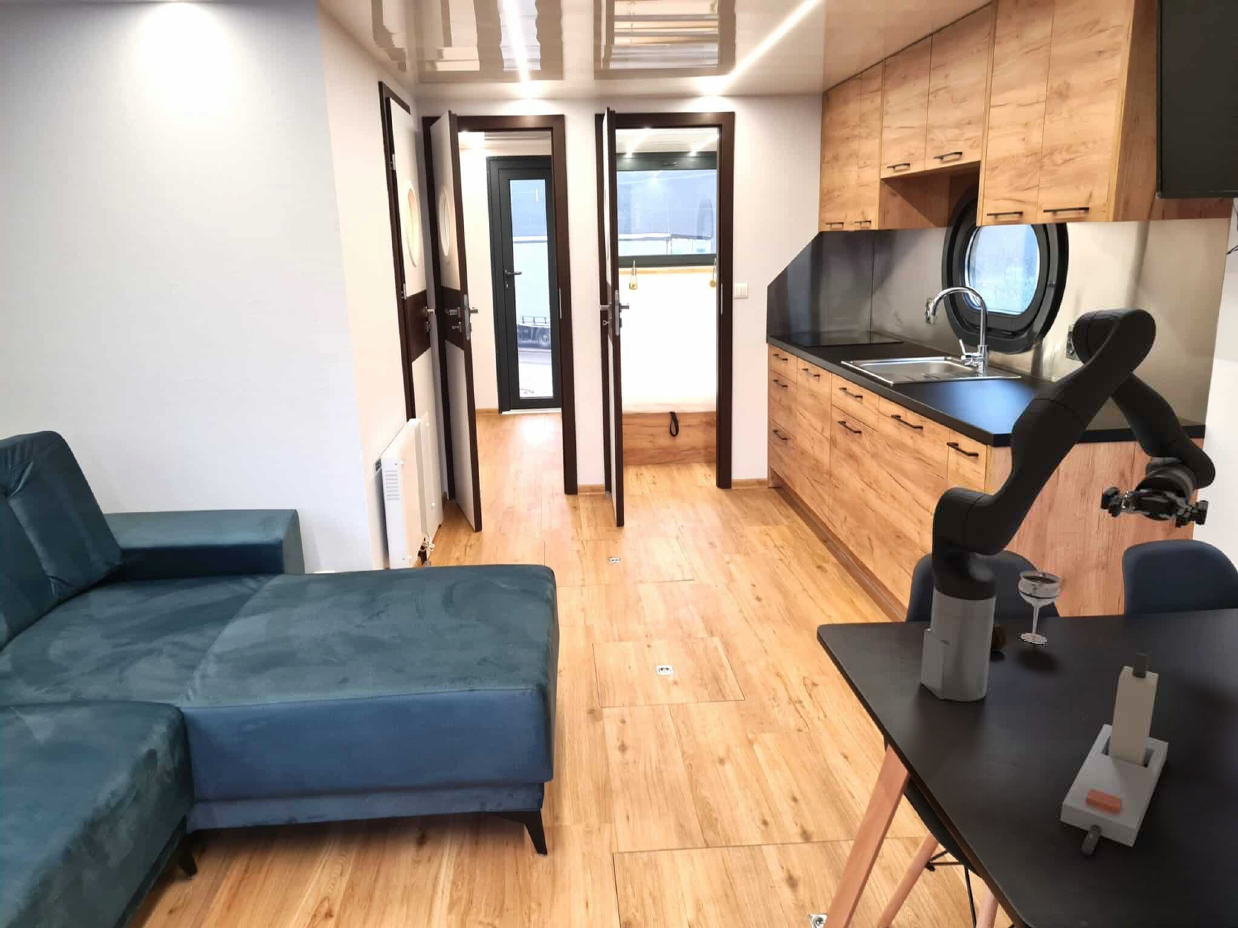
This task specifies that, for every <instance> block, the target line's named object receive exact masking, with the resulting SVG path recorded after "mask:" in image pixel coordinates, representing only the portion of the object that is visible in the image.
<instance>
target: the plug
mask: <svg viewBox="0 0 1238 928" xmlns="http://www.w3.org/2000/svg"><path fill="white" fill-rule="evenodd" d="M1149 658H1150V655H1149V654H1147V653H1145V652H1140V651H1137V652H1135V653H1134V660H1133V664H1132V665H1133V667H1132V666H1127V665H1125V666H1124V667H1123V669H1122V671H1121V672H1120V674H1119V676H1118V684H1117V692H1116V698H1115V703H1114V704H1115V705H1114V711H1113V718H1112V719H1113V720H1112V724H1111V726H1112V731H1111V738H1110V745H1109V752H1107V754H1108V755H1107V756H1110V757H1114V758H1117V759H1120V760H1123V761H1126V762H1130V763H1133V764H1136V765H1139V766H1142V767H1145V757H1146V750H1147V744H1148V737H1150V729H1151V724H1152V717H1153V711H1154V706H1155V704H1154V703H1155V698H1156V692H1157V685H1158V681H1159V680H1158V678H1159V673H1155V672H1152V671H1149V670H1148V667H1149V666H1148V664H1149Z"/></svg>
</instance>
